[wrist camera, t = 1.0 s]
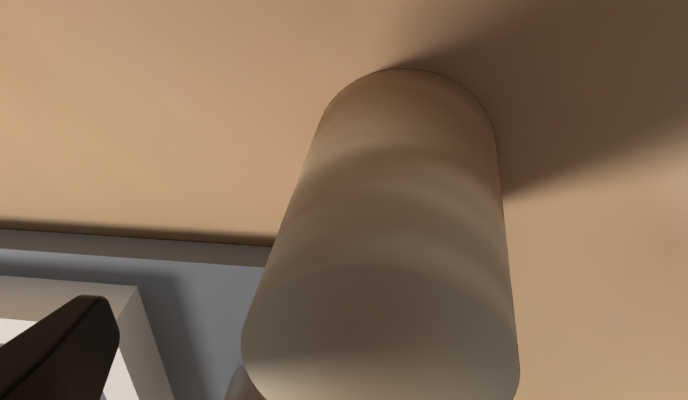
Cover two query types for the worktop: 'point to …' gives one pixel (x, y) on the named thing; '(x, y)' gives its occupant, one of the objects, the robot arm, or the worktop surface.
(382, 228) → the beige rounded cylinder
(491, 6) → the worktop surface
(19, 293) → the board
